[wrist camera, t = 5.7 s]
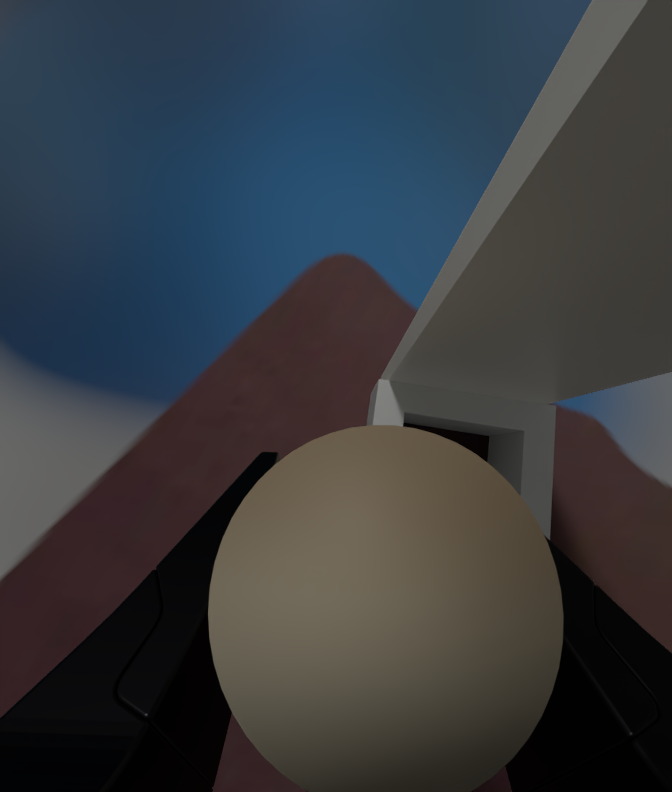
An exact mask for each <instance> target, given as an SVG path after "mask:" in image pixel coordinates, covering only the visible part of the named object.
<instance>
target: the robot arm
mask: <svg viewBox="0 0 672 792" xmlns="http://www.w3.org/2000/svg"><path fill="white" fill-rule="evenodd" d="M279 461H280V457H279V454H278V453H277V452H262V453H260V454H259V455H258V456H257V457H256V458H255V460H254V461H253V462H252V463H251V464H250V465H249V466H248V467H247V468H246V469H245V470H244V472H243V473H242V474H241V475H240V476H239V477H238V478H237V479H236V480H235V481H234V482H233V484H232V485H231V486H230V487H229V488H228V489H227V490H226V491H225V492H224V493H223V494H222V496H221V497H220V498H219V499H218V500H217V501H216V502H215V503H214V504H213V505H212V506H211V507H210V509H209V510H208V511H207V512H206V513H205V514H204V515H203V516H202V517H201V518H200V519H199V521H198V522H197V523H196V524H195V525H194V526H193V527H192V528H191V529H190V530H189V531H188V533H187V534H186V535H185V536H184V537H183V538H182V539H181V540H180V541H179V542H178V543H177V545H176V546H175V547H174V548H173V549H172V550H171V551H170V552H169V553H168V554H167V555H166V556H165V558H164V559H163V560H162V561H161V562H160V563H159V564H158V565H157V566H156V570H152V571H151V573H150V574H149V575H148V576H147V577H146V578H145V579H144V580H143V581H142V582H141V583H140V585H139V586H138V587H137V588H136V589H135V590H134V591H133V592H132V593H131V594H130V595H129V596H128V597H127V598H126V599H125V600H124V601H123V602H122V603H121V604H120V605H119V607H118V608H117V609H116V610H115V611H114V612H113V613H112V614H111V615H110V616H109V617H108V618H106V619H105V620H104V621H103V622H102V623H101V624H100V625H99V626H98V627H97V628H96V629H95V630H94V631H93V632H92V633H91V634H90V635H89V636H88V637H87V638H86V639H85V640H84V641H83V642H82V643H80V644H79V645H78V646H77V647H76V648H75V649H74V650H73V651H72V652H71V653H70V654H69V655H68V656H66V657H65V658H64V659H63V660H62V661H61V662H60V663H59V664H58V665H57V666H56V667H55V668H54V669H52V670H51V671H50V672H49V673H48V674H47V675H46V676H45V677H44V678H43V679H42V680H41V681H40V682H38V683H37V684H36V685H35V686H34V687H33V688H32V689H31V690H30V691H29V692H28V693H27V694H26V695H24V696H23V697H22V698H21V699H20V700H19V701H18V702H17V703H16V704H15V705H14V706H13V707H12V708H10V709H9V710H8V711H7V712H6V713H5V714H4V715H3V716H2V717H1V718H0V792H212V791H213V789H212V787H213V786H214V783H215V779H216V775H217V771H218V767H219V763H220V759H221V754H222V750H223V746H224V742H225V738H226V734H227V730H228V726H229V722H230V718H231V714H232V711H231V709H230V707H229V705H228V702H227V700H226V698H225V696H224V693H223V691H222V689H221V686H220V682H219V679H218V676H217V672H216V669H215V666H214V662H213V656H212V650H211V644H210V639H209V621H208V607H209V592H210V584H211V579H212V573H213V568H214V563H215V560H216V557H217V554H218V550H219V547H220V544H221V541H222V539H223V536H224V534H225V532H226V530H227V528H228V525H229V523H230V521H231V519H232V517H233V515H234V514H235V512H236V511H237V509H238V507H239V506H240V504H241V502H242V501H243V499H244V498H245V497H246V495H247V494H248V493H249V492H250V490H251V489H252V488H253V487H254V485H255V484H256V483H257V482H258V480H259V479H260V478H261V477H262V476H264V475H265V474H266V473H267V472H268V471H269V470H270V469H271V468H272V467H273V466H274V465H275V464H276V463H278V462H279ZM544 536H545V535H544ZM545 538H546V541H547V543H548V545H549V548H550V551H551V554H552V557H553V560H554V563H555V566H556V570H557V574H558V579H559V584H560V588H561V595H562V606H563V644H562V651H561V658H560V664H559V669H558V673H557V676H556V680H555V684H554V687H553V691H552V694H551V696H550V698H549V701H548V703H547V705H546V708H545V710H544V712H543V715H542V717H541V718H540V720H539V722H538V724H537V725H536V727H535V729H534V730H533V732H532V734H531V735H530V737H529V739H528V740H527V741H526V742H525V744H524V745H523V746H522V747H521V749H520V750H519V751H518V752H517V754H516V755H515V756H514V757H513V759H512V760H510V761H509V762H508V763H507V764H506V765H505V766H506V770H507V773H508V777H509V781H510V785H511V789H512V792H672V653H671V652H670V651H668V650H667V649H666V648H665V647H664V646H663V645H662V644H660V643H659V642H658V641H657V640H656V639H655V638H653V637H652V636H651V635H650V634H649V633H648V632H647V631H645V630H644V629H643V628H642V627H641V626H640V625H639V624H638V623H637V622H636V621H635V620H634V619H632V618H631V617H630V616H629V615H628V614H627V613H626V612H625V611H624V610H623V609H622V608H621V607H620V606H618V605H617V604H616V603H615V602H614V601H613V600H612V599H611V598H610V597H609V596H608V595H607V594H606V593H605V592H604V591H603V590H602V589H601V588H600V587H598V586H597V585H595V586H594V582H593V581H592V580H591V579H590V578H589V577H588V576H587V575H586V574H585V573H584V572H583V571H582V570H581V569H579V568H578V567H577V566H576V565H575V564H574V563H573V562H572V561H571V560H570V559H569V558H568V557H567V556H566V555H565V554H564V553H563V552H562V551H561V550H560V549H559V548H558V547H556V546H555V545H554V544H553V543H552V542H551V541H550V540H549V539H548V538H547V537H546V536H545Z"/></svg>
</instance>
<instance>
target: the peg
mask: <svg viewBox="0 0 672 792" xmlns="http://www.w3.org/2000/svg"><path fill="white" fill-rule="evenodd" d="M208 621H209V639H210V644H211V650H212V656H213V662H214V666H215V669H216V672H217V676H218V679H219V682H220V686H221V689H222V691H223V693H224V696H225V698H226V700H227V702H228V705H229V707H230V709H231V711H232V713H233V715H234V717H235V718H236V720H237V721H238V723H239V725H240V726H241V728H242V730H243V731H244V733H245V735H246V736H247V737H248V738H249V740H250V741H251V742H252V743H253V745H254V746H255V747H256V748H257V750H258V751H259V752H260V753H261V755H262V756H263V757H264V758H265V759H266V760H268V761H269V762H270V763H271V764H272V765H273V766H274V767H275V768H276V769H277V770H278V771H279V772H280V773H281V774H283V775H284V776H286V777H287V778H288V779H290V780H291V781H293V782H294V783H296V784H297V785H298V786H300V787H301V788H303V789H304V790H306V791H308V792H471V791H473V790H475V789H476V788H477V787H479V786H480V785H482V784H483V783H485V782H486V781H488V780H489V779H490V778H492V777H493V776H495V775H496V774H497V773H498V772H499V771H500V770H501V769H502V768H503V767H504V766H505V765H506V764H507V763H508V762H509V761H510V760H512V759H513V757H514V756H515V755H516V754H517V752H518V751H519V750H520V749H521V747H522V746H523V745H524V744H525V742H526V741H527V740H528V739H529V737H530V735H531V734H532V732H533V730H534V729H535V727H536V725H537V724H538V722H539V720H540V718H541V717H542V715H543V712H544V710H545V708H546V705H547V703H548V701H549V698H550V696H551V694H552V691H553V687H554V684H555V680H556V676H557V673H558V669H559V664H560V658H561V651H562V644H563V606H562V595H561V588H560V584H559V579H558V574H557V570H556V566H555V563H554V560H553V557H552V554H551V551H550V548H549V545H548V543H547V541H546V538H545V536H544V534H543V532H542V530H541V528H540V526H539V524H538V522H537V520H536V518H535V517H534V515H533V514H532V512H531V511H530V509H529V507H528V506H527V504H526V503H525V501H524V500H523V499H522V497H521V496H520V495H519V494H518V493H517V491H516V490H515V489H514V488H513V486H512V485H511V484H510V483H509V482H508V481H507V480H506V479H505V478H504V477H503V476H502V475H501V474H500V473H499V472H498V471H497V470H496V469H495V468H494V467H492V466H491V465H490V464H488V463H487V462H486V461H484V460H483V459H482V458H480V457H479V456H478V455H476V454H475V453H473V452H472V451H470V450H468V449H466V448H465V447H463V446H461V445H460V444H458V443H456V442H454V441H451V440H449V439H446V438H444V437H442V436H439V435H437V434H434V433H430V432H427V431H423V430H419V429H416V428H409V427H402V426H395V425H370V426H361V427H353V428H348V429H345V430H341V431H337V432H333V433H330V434H327V435H325V436H322V437H320V438H317V439H315V440H312V441H310V442H308V443H307V444H305V445H303V446H301V447H300V448H298V449H296V450H294V451H292V452H291V453H290V454H288V455H287V456H286V457H284V458H283V459H282V460H280V461H279V462H278V463H276V464H275V465H274V466H273V467H272V468H271V469H270V470H269V471H268V472H267V473H266V474H265V475H264V476H262V477H261V478H260V479H259V480H258V482H257V483H256V484H255V485H254V487H253V488H252V489H251V490H250V492H249V493H248V494H247V495H246V497H245V498H244V499H243V501H242V502H241V504H240V506H239V507H238V509H237V511H236V512H235V514H234V515H233V517H232V519H231V521H230V523H229V525H228V528H227V530H226V532H225V534H224V536H223V539H222V541H221V544H220V547H219V550H218V554H217V557H216V560H215V563H214V568H213V573H212V579H211V584H210V592H209V607H208Z"/></svg>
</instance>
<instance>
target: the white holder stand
mask: <svg viewBox="0 0 672 792" xmlns="http://www.w3.org/2000/svg"><path fill="white" fill-rule="evenodd" d="M669 372H672V0H592V2H591V3H590V5H589V7H588V9H587V11H586V12H585V14H584V16H583V18H582V19H581V21H580V23H579V25H578V27H577V28H576V30H575V32H574V34H573V36H572V37H571V39H570V41H569V43H568V44H567V46H566V48H565V50H564V52H563V53H562V55H561V57H560V59H559V60H558V62H557V64H556V66H555V68H554V69H553V72H552V73H551V75H550V76H549V78H548V80H547V82H546V84H545V86H544V87H543V89H542V91H541V93H540V94H539V96H538V98H537V100H536V102H535V103H534V105H533V107H532V109H531V110H530V112H529V114H528V116H527V117H526V119H525V121H524V123H523V125H522V126H521V128H520V130H519V132H518V134H517V135H516V137H515V139H514V141H513V142H512V144H511V146H510V148H509V150H508V152H507V153H506V155H505V157H504V159H503V160H502V162H501V164H500V166H499V167H498V169H497V171H496V173H495V175H494V176H493V178H492V180H491V182H490V184H489V185H488V187H487V189H486V191H485V192H484V194H483V196H482V198H481V200H480V202H479V203H478V205H477V207H476V208H475V210H474V212H473V214H472V216H471V217H470V219H469V221H468V223H467V224H466V226H465V228H464V230H463V232H462V233H461V235H460V237H459V239H458V241H457V242H456V244H455V246H454V248H453V249H452V251H451V253H450V255H449V257H448V259H447V260H446V262H445V264H444V266H443V267H442V269H441V271H440V273H439V275H438V276H437V278H436V280H435V282H434V283H433V285H432V287H431V289H430V291H429V292H428V294H427V296H426V298H425V300H424V301H423V303H422V305H421V307H420V308H419V310H418V312H417V314H416V315H415V317H414V319H413V321H412V323H411V324H410V326H409V328H408V330H407V332H406V333H405V335H404V337H403V339H402V340H401V342H400V344H399V346H398V348H397V349H396V351H395V353H394V355H393V356H392V358H391V360H390V362H389V364H388V365H387V367H386V369H385V371H384V373H383V374H382V376H381V379H379V380H378V382H377V383H376V385H375V387H374V389H373V391H372V393H371V397H370V404H369V411H368V418H367V425H366V426H370V425H395V426H402V427H403V423H409V424H415V425H421V426H428V427H434V428H441V429H447V430H453V431H460V432H466V433H473V434H479V435H485V436H489V447H488V460H487V463H488V464H490V465H491V466H492V467H494V468H495V469H496V470H497V471H498V472H499V473H500V474H501V475H502V476H503V477H504V478H505V479H506V480H507V481H508V482H509V483H510V484H511V485H512V486H513V488H514V489H515V490H516V491H517V493H518V494H519V495H520V496H521V497H522V499H523V500H524V501H525V503H526V504H527V506H528V507H529V509H530V511H531V512H532V514H533V515H534V517H535V518H536V520H537V522H538V524H539V526H540V528H541V530H542V532H543V534H544V535H545V536H546V537H547V538H548V539H549V540H550V529H551V506H552V484H553V461H554V439H555V416H556V406H553V405H546V404H550V403H554V402H557V401H561V400H565V399H569V398H573V397H577V396H580V395H584V394H588V393H592V392H596V391H600V390H604V389H607V388H611V387H615V386H619V385H623V384H626V383H630V382H634V381H638V380H642V379H646V378H649V377H653V376H657V375H661V374H665V373H669Z"/></svg>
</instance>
